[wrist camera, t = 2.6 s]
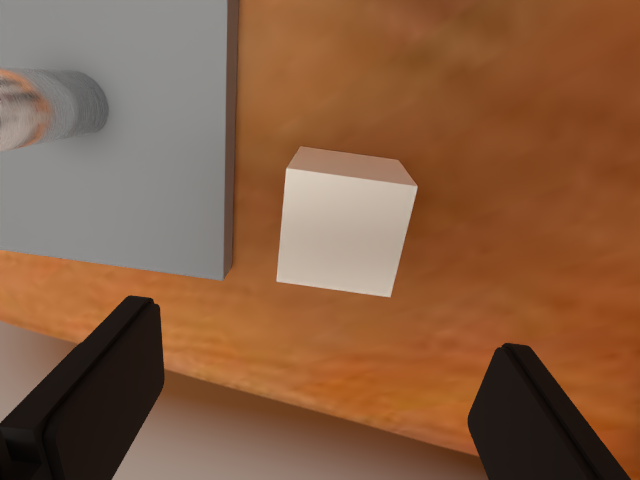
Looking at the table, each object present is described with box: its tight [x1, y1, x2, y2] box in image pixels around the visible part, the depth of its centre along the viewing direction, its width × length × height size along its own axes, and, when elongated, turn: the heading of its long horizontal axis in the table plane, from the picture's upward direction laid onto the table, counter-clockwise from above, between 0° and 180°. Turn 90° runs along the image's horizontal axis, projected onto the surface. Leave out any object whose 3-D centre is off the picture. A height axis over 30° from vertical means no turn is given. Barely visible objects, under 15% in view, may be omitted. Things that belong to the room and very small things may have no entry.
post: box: [0, 67, 109, 152], centre depth 16 cm, size 3×3×7 cm
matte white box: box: [276, 146, 418, 297], centre depth 20 cm, size 6×6×6 cm
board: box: [0, 0, 239, 281], centre depth 20 cm, size 16×20×2 cm
